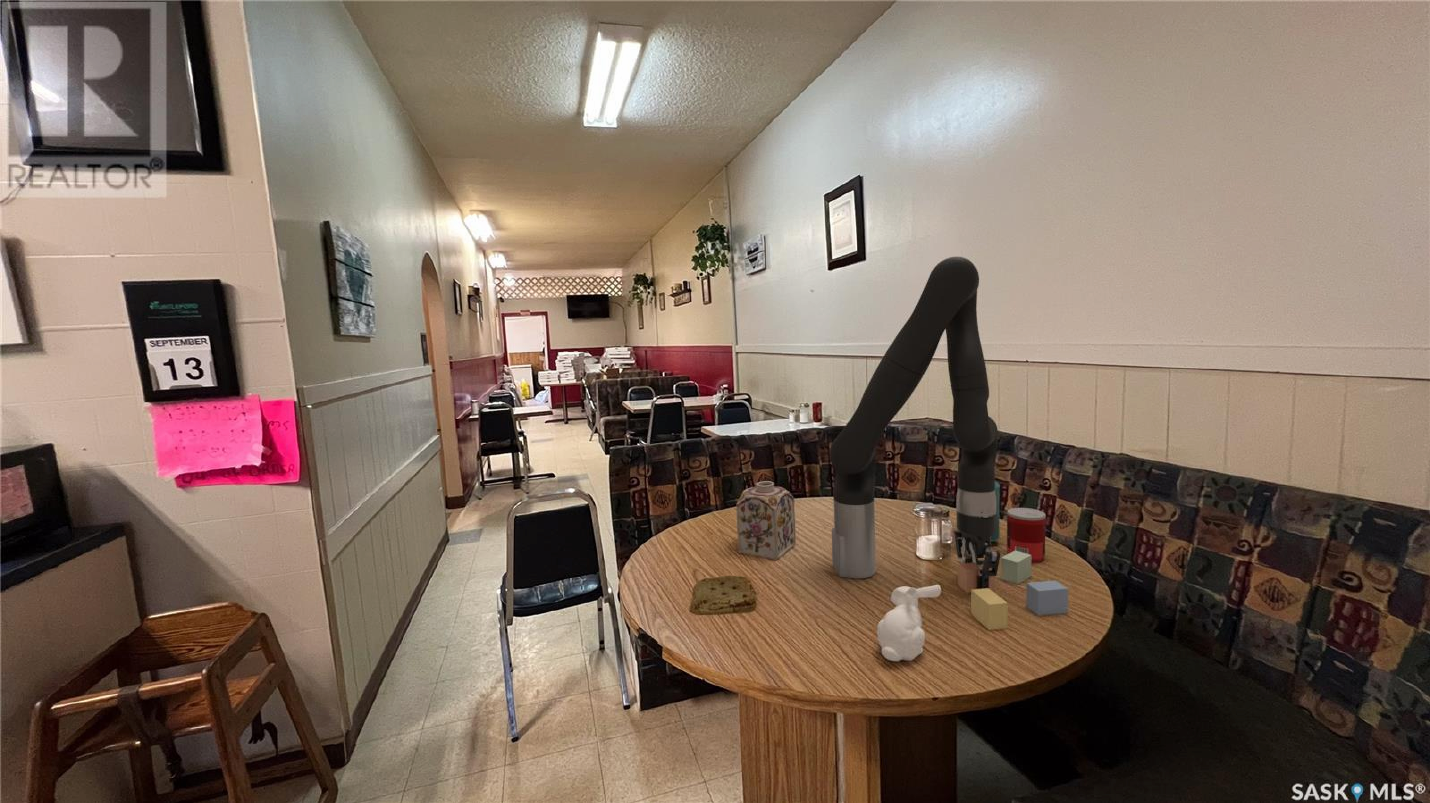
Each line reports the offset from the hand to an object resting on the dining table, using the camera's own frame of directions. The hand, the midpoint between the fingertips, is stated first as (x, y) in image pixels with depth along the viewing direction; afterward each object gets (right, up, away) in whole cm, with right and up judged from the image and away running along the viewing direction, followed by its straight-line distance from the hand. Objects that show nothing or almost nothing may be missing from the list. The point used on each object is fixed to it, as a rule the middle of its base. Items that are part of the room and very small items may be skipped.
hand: (975, 585), depth 115 cm
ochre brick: (-4, -2, -13) cm, 14 cm away
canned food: (+19, +2, +14) cm, 24 cm away
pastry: (-54, -4, +1) cm, 54 cm away
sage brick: (+11, 0, +4) cm, 11 cm away
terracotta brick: (0, 0, 0) cm, 0 cm away
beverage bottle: (+14, +3, +24) cm, 28 cm away
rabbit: (-22, -4, -20) cm, 31 cm away
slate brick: (+9, -1, -10) cm, 14 cm away
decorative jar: (-42, 0, +27) cm, 50 cm away
